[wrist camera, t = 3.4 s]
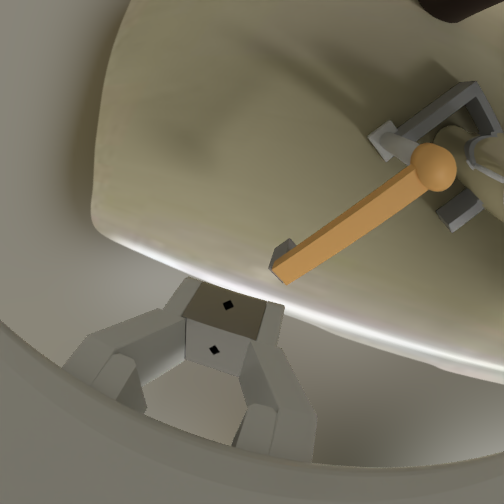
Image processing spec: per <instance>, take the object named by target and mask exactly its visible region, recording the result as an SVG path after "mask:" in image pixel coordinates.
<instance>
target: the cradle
mask: <svg viewBox="0 0 504 504" xmlns="http://www.w3.org/2000/svg"><path fill="white" fill-rule="evenodd" d="M464 105H465V106H466V108H467V110H468V111H469V113H470V115H471V117H472V119H473V120H474V122H475V124H476V126H477V128H478V130H479V132H500V133H503V130H502V128H501V126H500V124H499V122H498V120H497V118H496V116H495V114H494V112H493V110H492V108H491V106H490V104H489V102H488V100H487V98H486V97H485V95H484V93H483V91H482V89H481V88H480V86H479V84H478V83H477V81H469V82H460V83H458V84H457V85H455V86H454V87H453V88H451V89H450V90H449V91H447V92H446V93H444V94H443V95H442V96H440V97H439V98H438V99H436V100H435V101H434V102H432V103H431V104H429V105H428V106H427V107H425V108H424V109H423V110H421V111H420V112H419V113H417V114H416V115H415V116H413V117H412V118H410V119H409V120H408V121H406V122H405V123H404V124H402V125H401V126H400V127H398V128H396V127H395V126H394V124H393V123H392V121H390V120H388V121H387V122H386V123H384V124H383V125H382V126H380V127H379V128H378V129H376V130H375V131H374V132H372V133H371V134H370V135H368V136H367V138H368V139H369V140H370V142H371V143H372V144H373V146H374V147H375V148H376V150H377V151H378V152H379V154H380V155H381V157H382V158H383V159H384V161H386V162H387V161H388V160H390V159H391V158H392V157H394V156H395V157H396V158H398V159H399V160H401V161H402V162H404V163H405V164H406V165H408V166H409V165H410V158H411V155H412V153H413V151H414V149H415V148H416V147H417V146H419V145H420V144H419V143H416V141H417V140H419V139H420V138H421V137H423V136H424V135H425V134H427V133H428V132H429V131H431V130H432V129H433V128H435V127H436V126H437V125H439V124H440V123H441V122H443V121H444V120H445V119H447V118H448V117H449V116H451V115H452V114H453V113H455V112H456V111H457V110H459V109H460V108H461V107H462V106H464ZM483 209H485V208H484V207H482V206H481V205H480V204H479V203H478V202H477V201H476V200H475V198H474V197H473V196H472V195H471V194H470V192H469V191H468V190H467V189H465V190H463V191H462V192H461V193H459V194H458V195H457V196H455V197H454V198H453V199H452V200H450V201H449V202H448V203H446V204H445V205H443V206H442V207H441V208H439V209H438V210H437V211H436V212H437V214H438V216H439V218H440V220H441V221H442V222H443V223H444V224H445V225H446V226H447V228H448V229H449V230H450V231H451V232H452V233H453V232H454V231H456V230H457V229H458V228H460V227H461V226H462V225H464V224H465V223H466V222H468V221H469V220H470V219H472V218H473V217H474V216H476V215H477V214H478V213H479V212H481V211H482V210H483Z"/></svg>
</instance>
